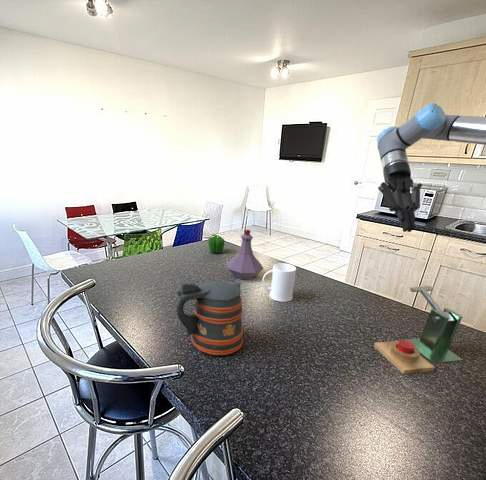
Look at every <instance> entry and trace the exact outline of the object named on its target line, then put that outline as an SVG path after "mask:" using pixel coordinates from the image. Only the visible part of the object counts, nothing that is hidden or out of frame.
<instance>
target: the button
mask: <svg viewBox="0 0 486 480" xmlns="http://www.w3.org/2000/svg"><path fill="white" fill-rule="evenodd" d="M398 341H399V342H398V345H397V349H398V350H400V351H401V352H404V353H407V354H412V353H413V351H414V348H415V346H414V344H412V343H411V342H409V341H405V339H401V340H398Z"/></svg>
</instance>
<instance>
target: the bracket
mask: <svg viewBox="0 0 486 480" xmlns="http://www.w3.org/2000/svg"><path fill="white" fill-rule="evenodd" d="M442 311H443V312H448V313H449V314H450V315H451V317H452V318H453V319H454V320H455V321H453V322H452V323H451V324H449V325H447V326H446V324H447V322H448V319H449V317H447V316H445V315H444V314H442V313H440V312H439V311H437V310H435V309H433V308H431V309H430V312H429V314H428V317H427V319H426V322H425V325H424V328H423V330H422V333H421V336H420V337H419V338H408V339H407V338H406V339H404V340H405V341H409V342H411V343H412V344H414V346H415V347H416V348H417V349H418V350H419V352H420V355H421V356H422V357H423V358H425V359H426V360H427V361H428V362H430V363H431V364H440V363H441V364H442V363H451V362H461V361H464V360H463V358H461V357H460V356H458V355H457V354H456V353H454V352H453V351H452V350H450V348H451V346H452V343H453V340H454V338H455V336H456V333H457V331H458V329H459V326H460V324H461V322H462V319H463V315H461V314H459V313H457V312H455V311H454V310H452V309H450V308H448V307H445V308H443V310H442Z"/></svg>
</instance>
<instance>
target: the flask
mask: <svg viewBox="0 0 486 480" xmlns="http://www.w3.org/2000/svg"><path fill="white" fill-rule="evenodd" d="M243 231H244V234H242V235H241V236H240V238H241V244H240V248H239V250H238V252H237V253H236V254H235V255H234V256H233V257H232V258H231V259H229V260H228V261H226V267H227V270H228V271H229V272H230V273H231V274H232V275H233V277H234V278H237V277H238V278H237V279H240V280H251V279H253V278H255V277H256V276H257V275H259V273H261V272H262V271H263V270H265V269H264V267H263V265H262V263H261V262H260V261H259V260H258V259H257V257H255V255H254V253H253V247H252V241H253V236H252V235H251V230H250V229H244V230H243ZM254 276H255V277H254Z"/></svg>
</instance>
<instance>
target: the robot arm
mask: <svg viewBox="0 0 486 480" xmlns="http://www.w3.org/2000/svg"><path fill="white" fill-rule="evenodd" d="M422 139H423V140H425V139H426V140H435V141H444V142H445V141H446V142H454V143H455V142H456V143H457V142H458V143H464V144H474V145H483V146H486V116H474V115H458V114H457V115H456V114H446V113H445V111H444V110H443V108H442V107H441V105H438V104H437V103H436V102H430V103H429V104H427V105H425V106H424V107H423V108H421V109H419V110H418V111H417V112H416V113H414V114H413V115H412V116H411V117H409V118H408V119H407V120H406V121H404V122H403V123H401V124H400V125H399V126H390V127H388V128H384V129H383V130H382V131H380V133H379V134H378V135H377V138H376V141H377V143H376V145H377V147H376V148H377V150H378V154H379V157H380V163H381V164H380V165H381V169H382V174H383V180H384V181H383V182H381V183H380V184H379V186H378V187H377V189H378V190H379V192H380V193H381V194H382V196H383V198H384V201H385V204H386V205H387V207H388V210H389V212H394V215H395V216H397V219H398V222H400V224H401V228H402V232H403V233H406V232H407V233H411V232H412V231H413V230H415V229H416V228H417V227H416V223H415V220H416V215H415V212H417V211H418V209H420V208H421V189H422V186H423V184H422V183H418V184H417V183H415V182H414V180H413V179H412V176H411V175H412V171H411V167H410V163H409V159H408V155H407V149H408V148H410V147H411V146H413V145H415V144H416V143H417V142H418V141H420V140H422Z"/></svg>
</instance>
